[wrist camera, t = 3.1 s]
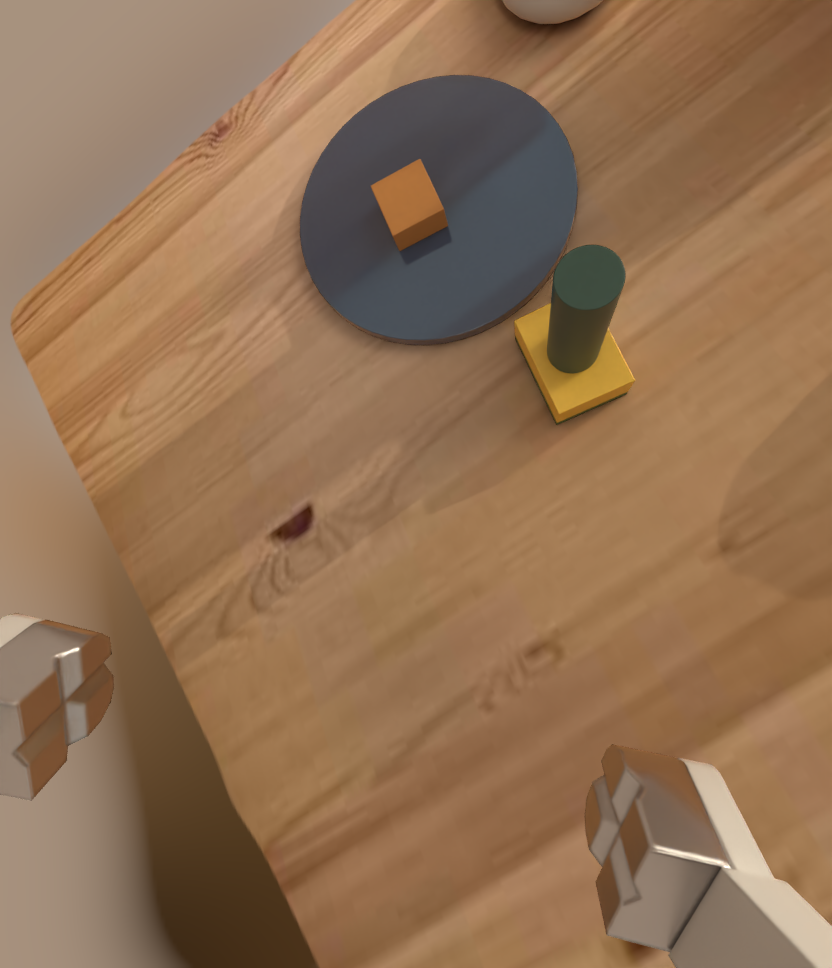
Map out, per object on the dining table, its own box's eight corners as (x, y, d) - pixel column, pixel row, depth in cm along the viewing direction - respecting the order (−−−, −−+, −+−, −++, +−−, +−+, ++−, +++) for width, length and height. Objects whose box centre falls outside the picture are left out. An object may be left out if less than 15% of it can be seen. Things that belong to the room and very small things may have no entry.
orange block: (425, 177, 38) (420, 157, 36) (448, 226, 37) (444, 208, 35) (378, 203, 39) (370, 185, 37) (399, 252, 38) (392, 236, 36)
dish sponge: (514, 338, 36) (508, 240, 25) (581, 306, 35) (607, 190, 24) (556, 425, 35) (569, 365, 23) (626, 394, 34) (677, 316, 22)
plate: (350, 75, 42) (346, 64, 41) (611, 99, 37) (614, 87, 36) (271, 314, 41) (265, 309, 40) (528, 373, 36) (528, 368, 35)
